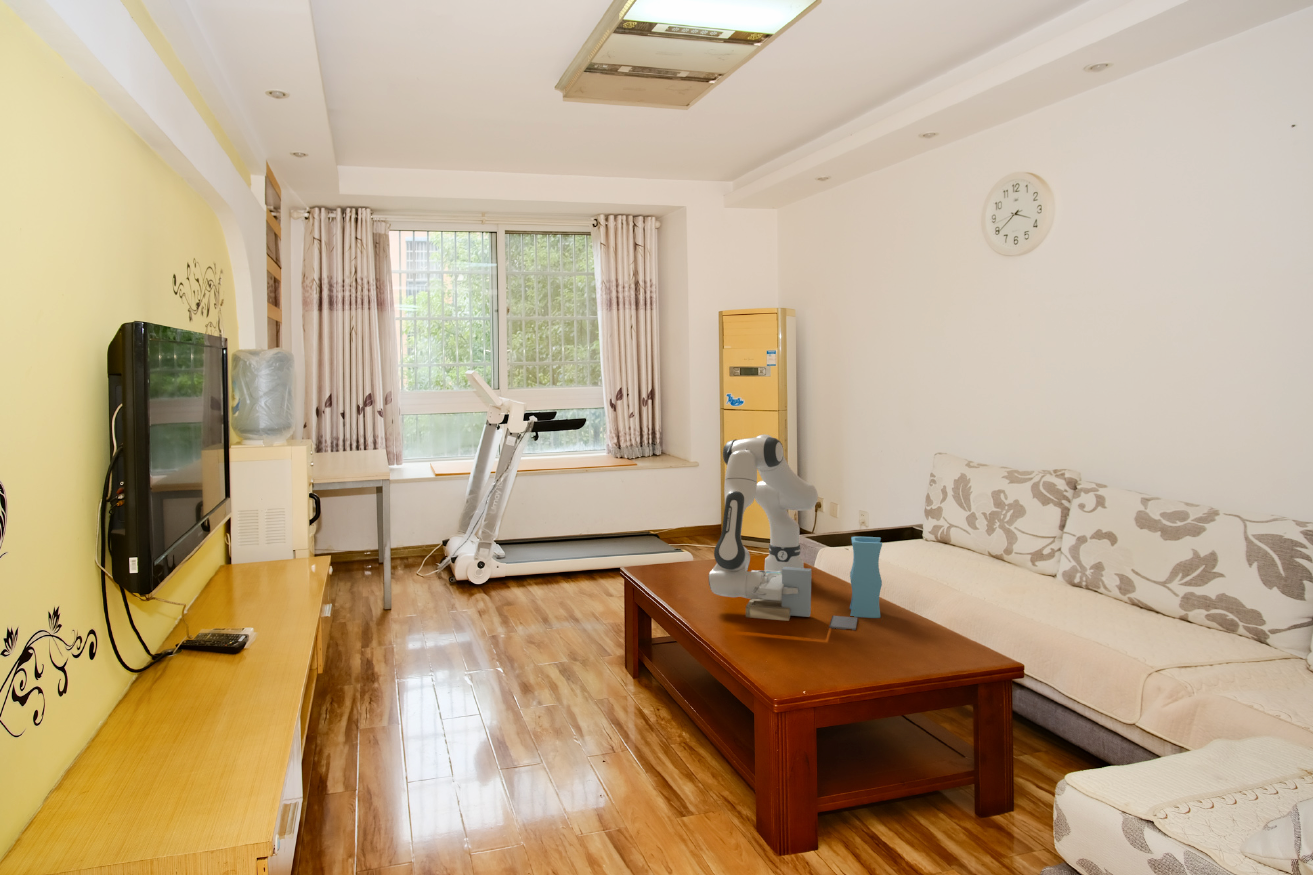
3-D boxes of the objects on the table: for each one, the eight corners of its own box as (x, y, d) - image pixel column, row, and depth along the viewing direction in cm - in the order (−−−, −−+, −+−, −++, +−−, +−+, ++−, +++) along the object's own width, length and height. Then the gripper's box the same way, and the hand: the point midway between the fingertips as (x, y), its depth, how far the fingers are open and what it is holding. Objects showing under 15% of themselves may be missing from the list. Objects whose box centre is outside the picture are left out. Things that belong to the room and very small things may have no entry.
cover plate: (783, 611, 278) (783, 566, 277) (810, 613, 276) (811, 568, 274) (781, 614, 275) (782, 569, 273) (809, 616, 272) (810, 571, 271)
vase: (880, 618, 277) (882, 543, 275) (850, 616, 279) (851, 542, 277) (879, 609, 286) (880, 537, 284) (849, 608, 288) (850, 536, 286)
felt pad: (820, 616, 279) (820, 614, 279) (857, 619, 276) (857, 617, 275) (816, 626, 267) (816, 625, 267) (855, 630, 264) (855, 628, 264)
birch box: (751, 611, 284) (751, 598, 284) (792, 614, 280) (792, 601, 280) (745, 619, 275) (745, 606, 274) (788, 623, 271) (788, 609, 271)
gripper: (751, 583, 268) (795, 587, 264) (762, 569, 287) (803, 572, 283) (751, 603, 268) (794, 606, 264) (762, 587, 288) (802, 590, 284)
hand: (799, 588), depth 274 cm, fingers closed on cover plate, 4 cm apart
